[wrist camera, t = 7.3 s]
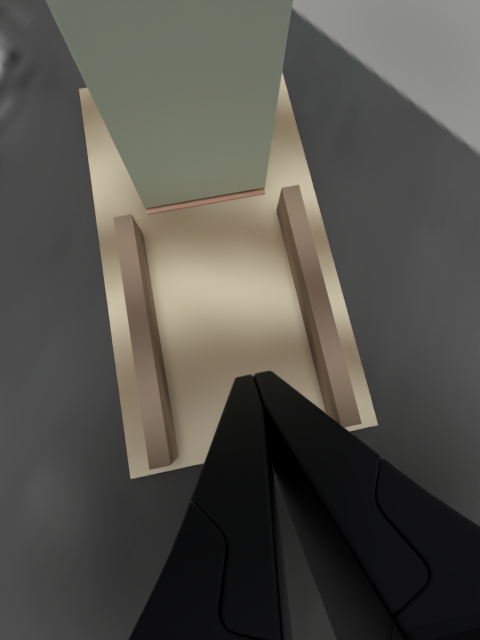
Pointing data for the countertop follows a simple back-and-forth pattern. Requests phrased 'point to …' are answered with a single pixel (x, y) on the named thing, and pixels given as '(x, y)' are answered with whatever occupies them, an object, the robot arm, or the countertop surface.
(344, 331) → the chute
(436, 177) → the countertop surface
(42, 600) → the countertop surface
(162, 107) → the sage block
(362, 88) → the countertop surface
